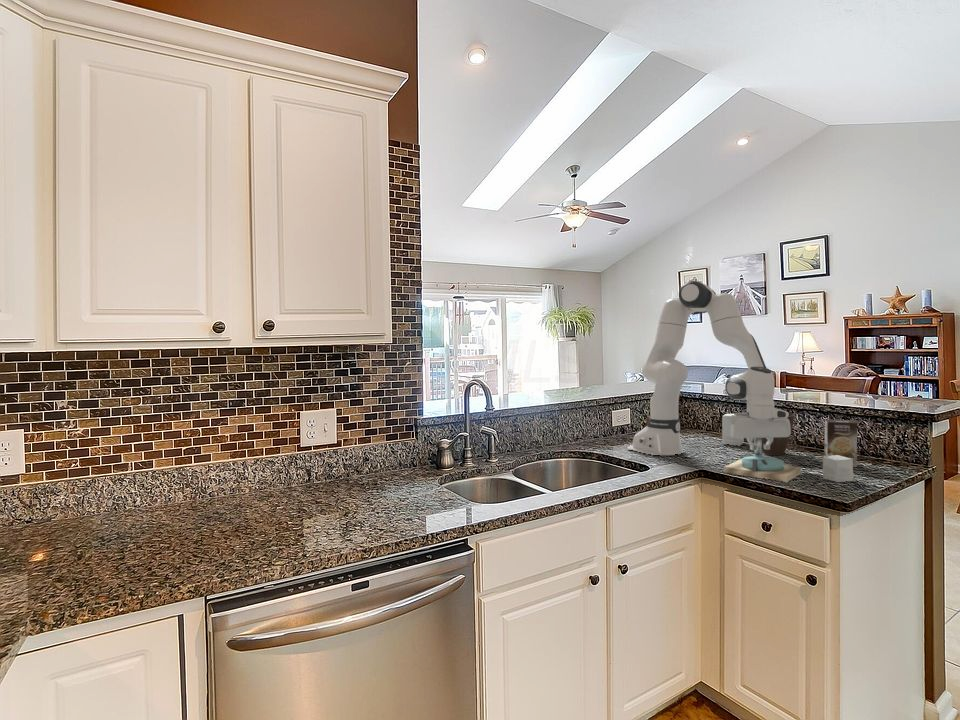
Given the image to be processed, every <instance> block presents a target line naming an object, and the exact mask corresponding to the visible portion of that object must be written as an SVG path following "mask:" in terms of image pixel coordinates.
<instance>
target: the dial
mask: <svg viewBox="0 0 960 720" xmlns="http://www.w3.org/2000/svg"><path fill="white" fill-rule="evenodd" d="M753 444H754V445H756V450H753V451H754V455H752V456H745V457H742V458H741V459H742V466H744V467H746V468H749V469H753V459H757V470H762V471H777V470H782V469H784V465H785V461H784V460H783V459H780V458H777V457H771V456H765V455H764V456H763V455H762V454H763V451H762V438H753Z"/></svg>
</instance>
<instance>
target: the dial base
mask: <svg viewBox="0 0 960 720" xmlns="http://www.w3.org/2000/svg"><path fill="white" fill-rule="evenodd" d="M723 468H724V473H726V474H732V475H739V476H743V475H744V476H745V477H751V478H756V477H757V479H762V478H765V479H764V480H768V479H771V480H770V481H775V480H776V482H781V481H783V482H782V483H789V482H790V481H791V480H793V479H794V477H795V478H796V477H798V476H799V475H801V474H802V468H801V467H800V466H792V465H785V464H784V469H782V470H777V471H762V470H757V459H753V469H749V468H746V467H744V466H742V458H740V459H737V460H736V461H733V462H732V463H729V464H727V465H725V466H724V467H723ZM797 475H798V476H797ZM744 476H743V477H744ZM789 480H790V481H789Z"/></svg>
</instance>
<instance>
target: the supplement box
mask: <svg viewBox="0 0 960 720" xmlns="http://www.w3.org/2000/svg"><path fill="white" fill-rule="evenodd" d="M733 414H734V413H725V414H724V415H722V420H721V422H722V423H721V424H722V426H721V427H722V429H721V430H722V432H721V433H722V435H721V436H722V437H721V438H722V445H726V444H729V445H728V446H736V445H738V446H737V447H739V446H741V445H743V444H744V442H745V441H744V440H745V438H734V437H732V435H731V434H730V431H731V424H732V423H731V416H732V415H733Z"/></svg>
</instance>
